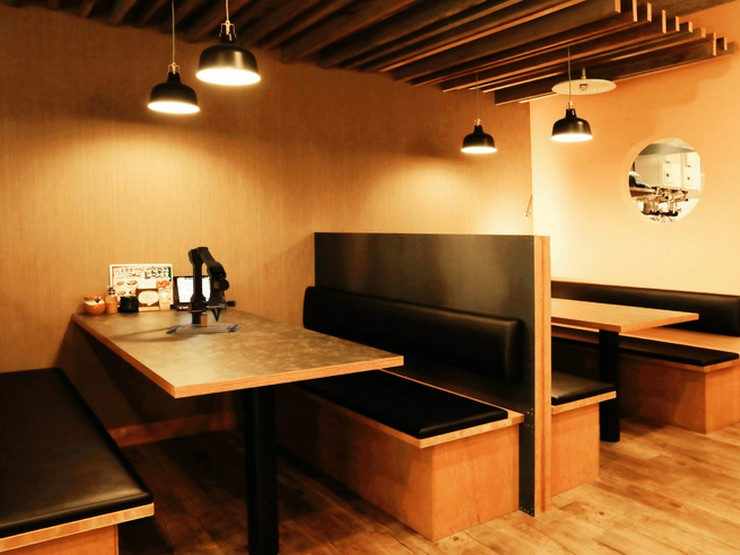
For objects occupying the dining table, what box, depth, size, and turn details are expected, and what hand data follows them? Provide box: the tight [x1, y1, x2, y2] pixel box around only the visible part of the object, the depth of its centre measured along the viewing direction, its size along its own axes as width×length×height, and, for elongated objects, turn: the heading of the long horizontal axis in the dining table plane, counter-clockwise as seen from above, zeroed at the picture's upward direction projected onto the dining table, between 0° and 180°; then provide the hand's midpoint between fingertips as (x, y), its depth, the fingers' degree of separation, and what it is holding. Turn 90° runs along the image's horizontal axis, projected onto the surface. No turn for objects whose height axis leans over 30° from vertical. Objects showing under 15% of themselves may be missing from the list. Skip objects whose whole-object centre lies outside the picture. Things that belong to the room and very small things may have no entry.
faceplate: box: [175, 322, 234, 334], centre depth 308 cm, size 15×24×2 cm, turn 92°
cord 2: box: [228, 323, 242, 333], centre depth 309 cm, size 18×3×2 cm, turn 2°
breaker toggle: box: [201, 313, 210, 326], centre depth 308 cm, size 4×3×6 cm
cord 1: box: [165, 324, 182, 335], centre depth 308 cm, size 18×3×2 cm, turn 2°
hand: (217, 321), depth 308 cm, fingers closed
